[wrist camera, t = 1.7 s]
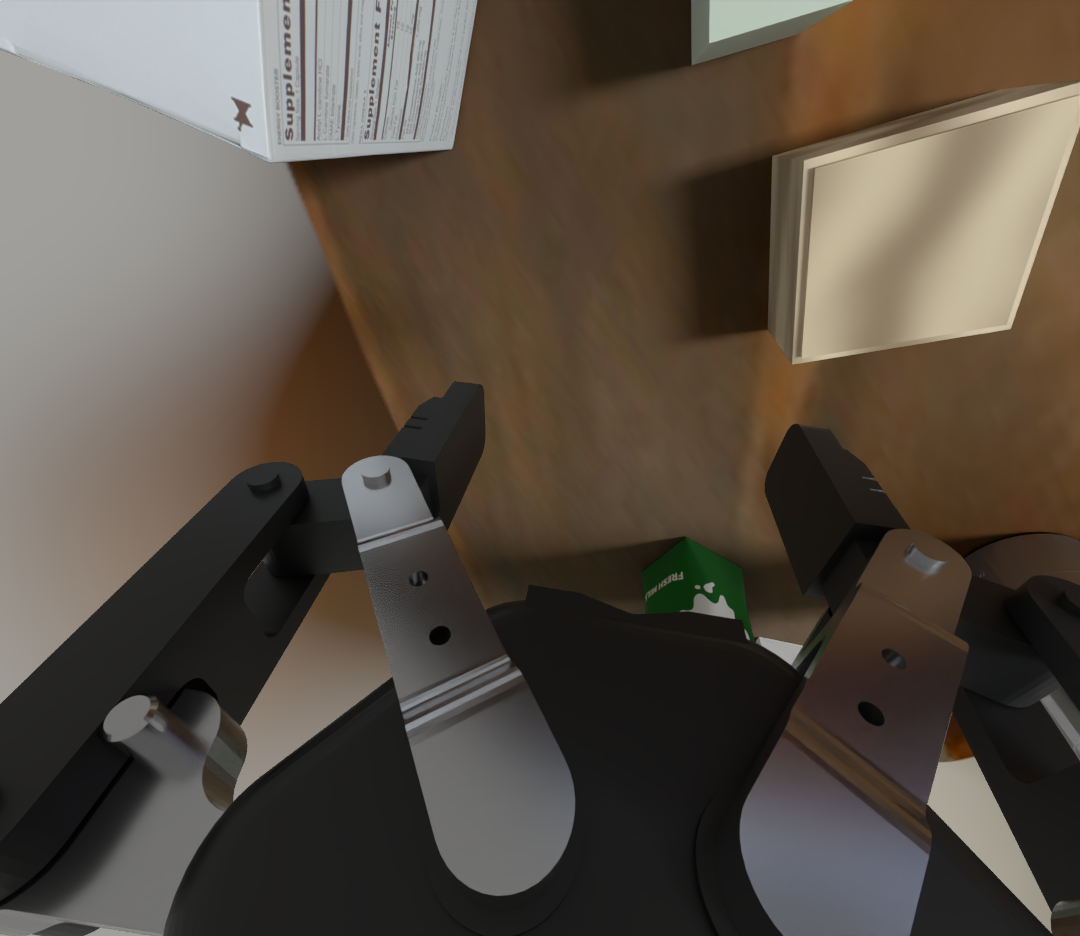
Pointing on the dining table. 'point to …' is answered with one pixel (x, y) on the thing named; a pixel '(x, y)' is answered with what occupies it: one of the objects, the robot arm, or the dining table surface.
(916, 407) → the dining table surface
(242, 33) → the supplement box
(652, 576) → the milk carton
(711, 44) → the block
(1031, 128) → the beige box
